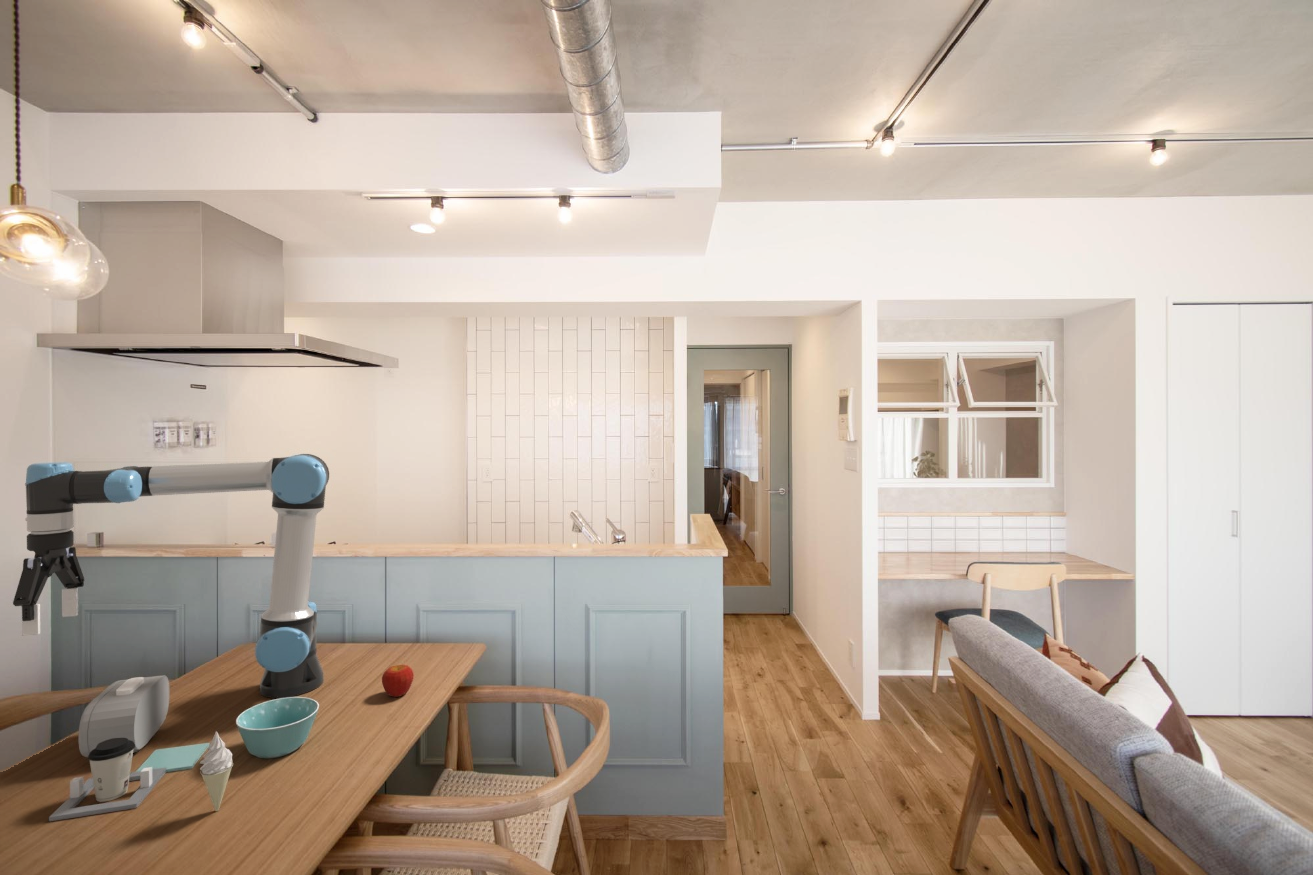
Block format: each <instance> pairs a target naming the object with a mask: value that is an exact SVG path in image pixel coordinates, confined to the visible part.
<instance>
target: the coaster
mask: <svg viewBox="0 0 1313 875" xmlns="http://www.w3.org/2000/svg"><path fill="white" fill-rule="evenodd" d="M209 745H210V742H205V743H204V742H203V743H197V744H190V745H182V746H174V747H166V748H159V749H158V748H157V749H155V750H154V751H153V752H152V753H151V754H150V755H149V756H148V758H147V759H146V760H145V761H144V762H143V763H142V764H141V765H140V766H139V767H138V768H137V769H136V771H135V772H137V771H142V770H143V768H148V767H152V769H159V768H166V767H167V769H166V773H171V772H172V773H173V772H179V771H185V770H192V769H193V768H194V767H195V766H196V764H197V762H198V761H199V760H200V759H201V757H203V756H204V755H203V754H204V753H205V752H206V751H207V750H208V747H209Z"/></svg>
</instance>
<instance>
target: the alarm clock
mask: <svg viewBox="0 0 1313 875" xmlns="http://www.w3.org/2000/svg"><path fill="white" fill-rule="evenodd" d="M169 681H170V680H169V678H168V676H166V675H165V674H164V675H162V674H161V675H155V676H154V675H153V676H146V677H144V676H138V677H131V678H129V679H127V678H126V679H121V680H119V679H118V680H117V681H114V682H113V683H111V684H109V685H108V686H107V687H106V688H105V689H104V690H102V691H101V692H100V693H99V694H98V695H97V696H96V697H95V698H94V699H92V700H91V701H90V702H89V703H88V704H87V705H86V706H85V708H84V709H83V712H82V714H81V717H80V722H79V726H78V748H79V752H80V754H81V755H82V757H85V758H88V755H89V753H90V752H91V751H92V750H93V749H95V748H96V746H97V745H98V743H101V742H103V741H105V740H109V739H112V738H127V739H128V740H131V741H133V742H134V743H135V748H134V749H133V753H138V751H140V750H141V749H143V748H144V746H146V745H147V744H148V743H149V741H150V740H151V739H152V738H153V737H154V736H155V735H156V733H157V732H158V731H159V730H160V728H161V727H162V725H163V724H164V722H165V720H166V717H167V716H168V711H169V706H170V682H169Z"/></svg>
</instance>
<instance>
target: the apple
mask: <svg viewBox="0 0 1313 875" xmlns="http://www.w3.org/2000/svg"><path fill="white" fill-rule="evenodd" d="M414 678H415V676H414V671H413V669H412V668H411V667H410V666H409V665H407V664H398V665H393V666H390V667H388V668H387V670H385V671H384V672H383V674H382V676H381V684H382V687H383V689H384V691H385V693H386V694H387V695H389V696H391V697H394V698H398V697H402V696H404V695H405V694H406V693H407V692H409V690H410V688H411V687H412V683H413V681H414Z"/></svg>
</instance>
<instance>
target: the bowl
mask: <svg viewBox="0 0 1313 875" xmlns="http://www.w3.org/2000/svg"><path fill="white" fill-rule="evenodd" d="M319 707H320V704H319V702H318V701H316V700H315V699H313V698H310V697H305V696H304V697H303V696H289V697H279V698H276V699H272V700H267V701H264V702H262V703H261V702H260V703H258V704H256V705H252V706H251V707H250V708H248V709H245V710H244V711H243V712H241V713H240V714H239V715H238V716H237V717H236V719H235V724H236V727H237V729H238V731H239V734H240V736H241V739H242V740H243V743H244V745H245V747H246V749H247V751H248V753H249V754H251V755H252V756H255V757H257V758H261V759H274V758H280V757H283V756H286V755H288V754H291V753H292V752H295V751H296V750H298V749H299V748H300V747H301V746H302V745H303V744H304V743H305V742H306V741H307V739H308V737H309V735H310V732H311V731H312V728H313V724H314V722H315V720H316V717H317V714H318V712H319V709H320V708H319Z"/></svg>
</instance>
